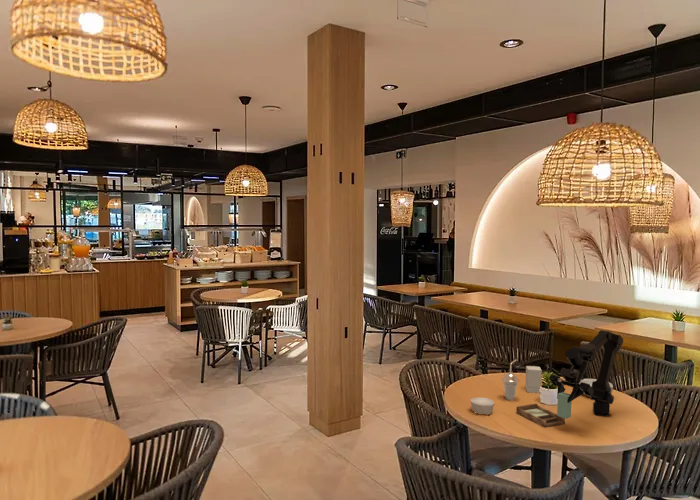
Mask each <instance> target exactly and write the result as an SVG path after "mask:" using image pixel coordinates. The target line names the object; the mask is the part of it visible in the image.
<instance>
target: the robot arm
mask: <svg viewBox="0 0 700 500" xmlns="http://www.w3.org/2000/svg"><path fill="white" fill-rule="evenodd" d="M623 344H624V338H623V337H622V335H621V334H616V333H613V332H611V331H610V330H604V329H603V330H599V331H598V333H597V335H595V336H594V337H593V338H592V339H591V340H590V341H589V342H588V343H587V344H583V345H581V346H579V347H578V346H572V348H568V349H567V350H566V351H565V354H564V355H565V357H566V358H567V360H568V362H569V363H570V365H571V368H565V367H561V369H560V375H557V374H554V373H551V374H550V375H549V376H548V381H550V382H551V385H552V386H554V387H557V393H556V399H557V400H558V393H561V392H564V393H565V392H566V388H565V386H568V387H570V388H572V391H571V392H570V393H569V394H570V396H569V398H568V401H567V402H568V403H569V402H571V403H572V401H574V400H575V399H577V398H580V397H581V396H584V395H585V396H587V395H589V396H591V397H590V400H592V401H593V402H592V412H593V413H594V415H595V416H604V417H611V415H610V407H611V406H610V405H613V403H614V400H615V399H614V395H613V394H612V393H611V387H610V385H609V383H610V378H611V374H612V369H613V365H614V361H615V357H616V353H618V352H619V351H620V350H621V348H622V345H623ZM602 347H603V350H604V351H603V356H602V360H601V364H600V369H599V372H598V377H597V380H596V381H593V382H592V387H591V386H590V384H587V383H583V382H581V383H580V381H581V380H583V379H585V378H584V375H585V373H586V372H587V370H588V371H589V370H590V366H589V364H588V363H587V362H589V363H592V362H594V361H595V359H596V358H597V352H598V351H599V350H600V349H601V348H602ZM561 376H563V378H561ZM579 383H580V384H579ZM584 393H585V394H584ZM589 396H588V397H589Z"/></svg>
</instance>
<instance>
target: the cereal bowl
mask: <svg viewBox="0 0 700 500" xmlns="http://www.w3.org/2000/svg"><path fill="white" fill-rule="evenodd" d="M597 379H598V378H597ZM597 379H596V378H584V379H583V380H581V381H580V383H581V382H583V383H587V384H590V386H591V387H592V382H593V381H596V380H597ZM580 383H579V384H580ZM609 385H610V387H611V394H612V393H613V390H614V386H613V383H611V382H609ZM583 394H584V395H586V394H585V393H583ZM586 396H587V397H588V398H591V396H589V395H586Z"/></svg>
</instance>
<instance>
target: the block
mask: <svg viewBox="0 0 700 500" xmlns="http://www.w3.org/2000/svg"><path fill="white" fill-rule="evenodd" d="M570 394H571V393H567V392H565V391H564V392H561V393H558V399H557V404H556V405H557V407H556V410H557V411H556V414H557V416H559V417H562V418H565V420H567V419H570V418H571V417H572V401H571V402H569V403H568V402H567V401H568V398H569V396H570Z"/></svg>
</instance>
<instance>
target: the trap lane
mask: <svg viewBox="0 0 700 500" xmlns="http://www.w3.org/2000/svg"><path fill="white" fill-rule="evenodd" d="M515 412H516V414H517V415H520V416H521V417H523V418H524V419H527V420H529V421H531V422H533V423H535V424H537V425H539V426H541V427H542V428H550V427H555V426H562V425H565V424H566V419H565V418H562V417H559V416H557V412H556V413H555V412H553V411H551V410H549V409H547V408H545V407H543V406H540V405H538V403H531V404H525V405H524V404H523V405H519V406H516V411H515Z"/></svg>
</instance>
